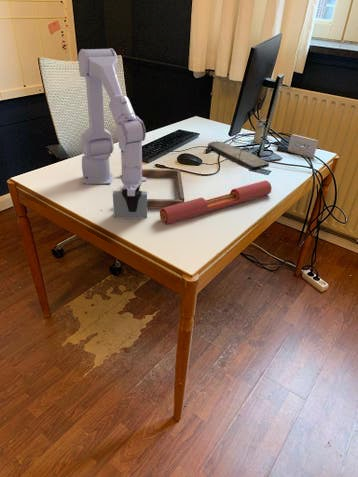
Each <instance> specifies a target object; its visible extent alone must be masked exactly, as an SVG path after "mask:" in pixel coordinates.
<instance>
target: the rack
mask: <svg viewBox="0 0 358 477" xmlns="http://www.w3.org/2000/svg"><path fill="white" fill-rule="evenodd" d="M142 177H146V178H147V177H148V178H149V177H150V178H176V181H177V182H176V183H177V190H178V199H177V198H176V199H175V198H174V199H170V198H169V199H167V198H165V199H164V198H163V199H162V198H159V199H156V198H149V199H148V198H147V209H161V208H164V207H168V206H172V205H175V204H179V203H183V202H185V194H184V193H185V192H184V187H183V186H184V185H183V181H182V173H181V169H161V168H160V169H159V168H158V169H157V168H156V169H155V168H154V169H152V168H148V169H147V168H142Z"/></svg>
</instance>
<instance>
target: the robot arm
mask: <svg viewBox="0 0 358 477" xmlns="http://www.w3.org/2000/svg"><path fill="white" fill-rule="evenodd" d="M77 60H78V71H79V76H80V77H81V78H85V86H86V99H87V100H86V102H87V109H88V110H87V111H88V112H87V113H88V128H87V129H85V131H83V132H82V133H81V143H80V145H81V151H82V154H83V155H82V158H81V170H82V171H81V172H82V178H83V184H88V185H92V184H93V185H94V184H95V185H97V184H98V185H111V184H112V178H113V173H111V168H110V166H111V165H110V157H111V154H113V152H114V149H115V148H114V142H113V136H112V133H111V132H110V130H108V129H107V128H105V112H104V92H103V91H104V90H105V91H106V94H107V95H108V97H109V100H110V101H109V103H108V108H109V110H110V113H111V114H112V118H113V120H114V122H115V124H116V125H115V126H116V128H115V129H116V130H115V133H116V137H117V141H118V142H117V143H118V148H119V149H120V159H121V160H120V161H121V183H122V184H123V186H124V187H125V189H121V191H122V196H123V197H124V198H125V200H126V203H127V207H128V210H129V212H136V210H137V205H138V201H139V198H140V196H141V194H142V190H140V191H139V188H140V189H141V185H142V183H147V177H142V169H143V151H142V150H143V149H142V146H143V145H142V144H143V142H144V141H145V140H146V134H147V132H146V126H145V124H144V121H143V120H142V119H141V118H139V116H137V115H136V113H135V111H134V108H133V106H132V104H131V101H130V98H128V96H127V95H124V94H123V91H122V89H121V88H122V87H121V84H120V81H119V78H118V75H117V72H118V67H119V62H118V55H117V53H116V51H115V50H114V48H111V47H110V48H95V49H93V48H91V49H89V48H87V49H84V48H81V49H80V50H79V52H78V56H77ZM103 87H104V90H103Z"/></svg>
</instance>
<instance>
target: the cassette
mask: <svg viewBox="0 0 358 477" xmlns="http://www.w3.org/2000/svg"><path fill="white" fill-rule="evenodd" d="M318 142H319V140H317V139H313V138H309V137H306V136H302V135H297V134H294V133H292V134H291V135H290V139H289V143H288V148H287V151H288V152H290V153H293V154H297V155H301V156H303V157H308V158H315V154H316V151H317V150H316V149H317V147H318ZM301 144H302V145H301ZM303 145H305V146H303Z"/></svg>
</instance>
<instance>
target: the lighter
mask: <svg viewBox="0 0 358 477" xmlns="http://www.w3.org/2000/svg"><path fill="white" fill-rule="evenodd" d="M266 120H267V119H266V118H263V119H259V120H258V123H257V124H256V126H255V130H254V131H255V132H254V137H253V142H254V143H262V142H261V137H262V134H263V130H264V123H266V122H265V121H266ZM260 121H261V122H260Z"/></svg>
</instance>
